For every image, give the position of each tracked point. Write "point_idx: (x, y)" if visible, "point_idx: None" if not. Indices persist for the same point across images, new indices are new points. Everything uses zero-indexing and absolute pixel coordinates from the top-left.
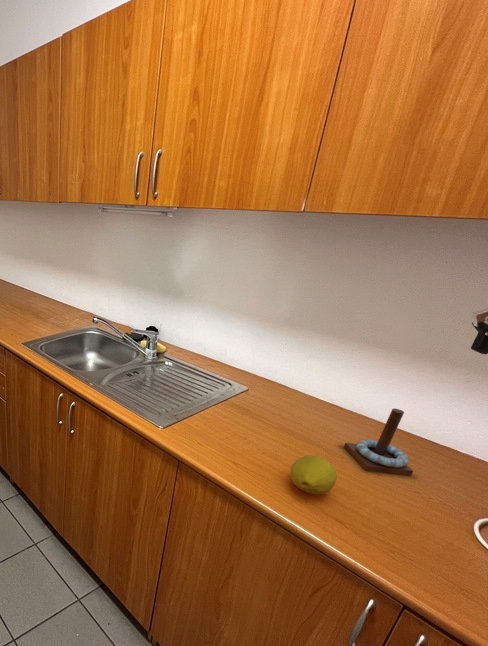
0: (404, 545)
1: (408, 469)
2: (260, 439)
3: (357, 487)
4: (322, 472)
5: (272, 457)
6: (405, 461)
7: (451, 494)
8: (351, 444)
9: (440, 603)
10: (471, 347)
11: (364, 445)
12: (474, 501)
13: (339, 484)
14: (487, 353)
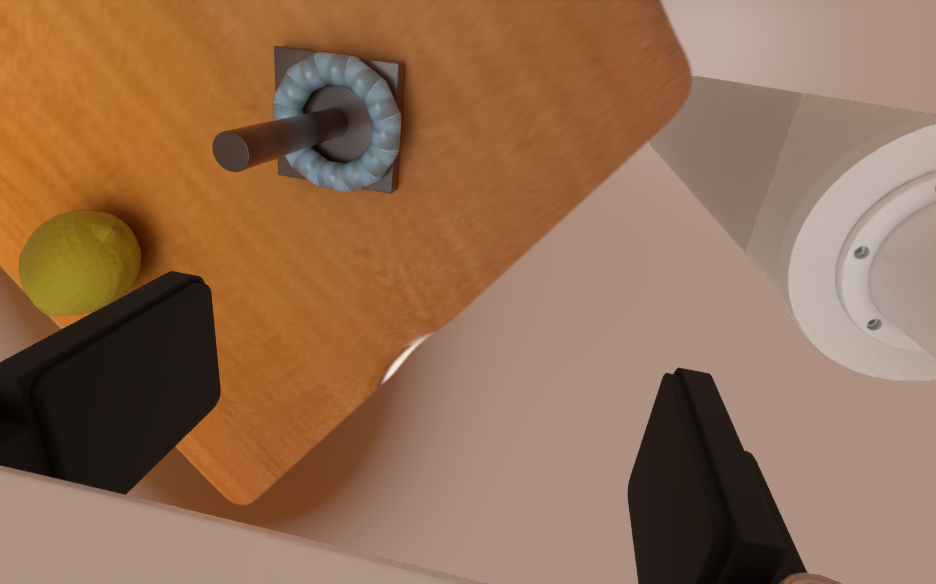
0: (237, 389)
1: (382, 187)
2: (46, 20)
3: (232, 239)
4: (53, 309)
5: (66, 122)
6: (363, 183)
7: (446, 258)
8: (287, 57)
9: (225, 475)
10: (172, 274)
11: (284, 105)
12: (482, 281)
13: (196, 229)
14: (213, 403)
